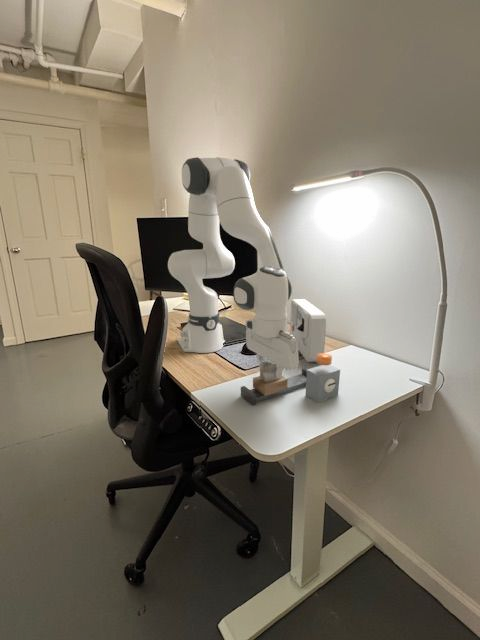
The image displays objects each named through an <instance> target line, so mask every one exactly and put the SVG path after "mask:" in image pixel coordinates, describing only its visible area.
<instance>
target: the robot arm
mask: <svg viewBox="0 0 480 640" xmlns="http://www.w3.org/2000/svg"><path fill="white" fill-rule="evenodd" d="M250 181H251V171H250V169H249V167H248V164H247V163H246V162H244V161H242V160H239V159H236V158H234V159H231V158H227V157H226V158H224V157H219V156H218V157H199V156H198V157H191V158H187V159H186V160H185V161H184V162H183V165H182V168H181V182H182V186H183V188H184V190H185V191H186V192H187V193H188V194H189V198H188V213H187V214H188V220H187V225H188V226H187V227H188V229H187V231H188V233H189V235H190V237H191V238H192V239H193V240H196V241H197V242H199V243H202V246H203V247H202V248H201V249H183V250H179V251H174V252H172V253H171V254H170V255H169V257H168V261H167V269H168V273H169V274H170V275H171V277H173V278H174V279H175V280H177V281H179V283H180V284H181V285H182V286H183V287H184V289H185V291H186V293H187V298H188V302H189V313H188V319H187V321H188V323H187V322H186V323H187V324H186V325H184V326H183V327H182V331H180V337H178V338H177V343H178V344H179V346H180V347H181V350H182V351H183V352H184V353H197V354H198V353H199V354H207V353H214V352H217V351H220V350H222V349H223V347H224V345H223V343H224V342H225V341H226V340H225V339H224V333H223V326H222V324H221V323H220V317H221V316H220V313H219V301H218V300H219V297H218V293H217V292H216V291H215V289H212V288H211V287H208V286H205V285H204V282H203V279H215V278H216V279H218V278H223V277H226V276H230V275H231V274H233V272H234V270H235V268H236V267H235V266H236V261H235V257H234V255H233V252H231V251H230V250H228V248H227V247H226V246H225V245H224V244H223V241H222V239H221V234H220V233H221V232H220V231H221V230H220V225H221V227H222V229H223V230H224V231H225V232H226V234H227V233H228V235H230V236H232V237H234V238H236V239H239V240H241V241H244V242H246V243H248V244H250V245H251V246H252V247H253V248H255V249H256V251H257V253H258V256H259V258H260V261H261V265H262V266H261V267H260V268H258V269H257V270H256V272H255V273H253V274H251V275H248V276H244V277H242V278H239V279H237V281H236V282H235V283H234V286H233V291H232V297H233V301H234V303H235V304H236V306H237V307H238V308H240V309H241V310H245V311H251V310H253V311H255V316H254V317H255V318H251V319H247V320H246V321H245V327H246V330H245V344H246V347H247V350H249V351H252V352H254V353H255V354H256V357H257V361H258V367H259V368H260V363H261V362H265V361H266V359H267V361H269V360H270V361H272V362H273V363H275V364H276V367H278V368H277V370H276V371H274V376H275V377H276V378H281V377H282V376H283V372H284V370H287V371H289V370H293V369H296V368H297V367H298V366H299V364H300V363H299V362H300V361H299V358H300V357H299V350H298V346H297V342H296V340H295V339H294V338H293V335H291V334H290V333H288V318H289V316H288V312H287V307H288V304H289V300H290V298H291V296H292V294H293V293H292V291H293V289H292V287H293V286H292V284H291V281H290V279H289V276H287V272H286V271H285V269H284V266H283V263H282V260H281V257H280V254H279V251H278V249H277V245H276V243H275V240H274V238H273V234H272V232H271V229H270V228H269V225H267V224H266V223H265V222H264V221H263V219H262V218H261V216H260V214H259V212H258V210H257V207H256V204H255V199H254V195H253V191H252V187H251V184H250Z"/></svg>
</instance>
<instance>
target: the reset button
mask: <svg viewBox="0 0 480 640" xmlns="http://www.w3.org/2000/svg"><path fill="white" fill-rule="evenodd" d="M332 360H333V356H332V355H331V354H329V353H326V352H324V353H320V354H318V355H317V362H316V363H317V365H319V366H321V365H332Z"/></svg>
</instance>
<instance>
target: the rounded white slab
mask: <svg viewBox="0 0 480 640" xmlns="http://www.w3.org/2000/svg"><path fill="white" fill-rule="evenodd" d="M289 315H290V317H289V318H290V320H289V321H290V322H289V334H291V335H293V338H294V339H295V340H296V342H297V346H298V352H299V353H300V354H301V355H302V357H303V359H305V361H306V362H307V363H317V355H318V354H320V353H325V348H326V347H325V346H326V345H325V344H326V331H327V330H326V329H327V316H326V314H325V312H323V311H321V310H320V309H319V308H318V307H316V306H315V305H313V304H312V303H311V302H309V301H308V300H306V299H305V298H300V299H297V298H296V299H291V300H290V314H289Z"/></svg>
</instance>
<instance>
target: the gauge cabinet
mask: <svg viewBox="0 0 480 640" xmlns="http://www.w3.org/2000/svg"><path fill="white" fill-rule="evenodd" d="M307 369H308V370H307V377H306V387H305V396H306V397H308V398H309V399H311V400H312V401H315V402H316V403H321V402H324V401H326V400H328V399H332V398H334V397H336V396H339V390H340V389H339V388H340V377H341V375H340V374H341V369H340V368H338V367H336V366H333V365H332V364H330V365H317V366H314V367H312V368H307Z"/></svg>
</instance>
